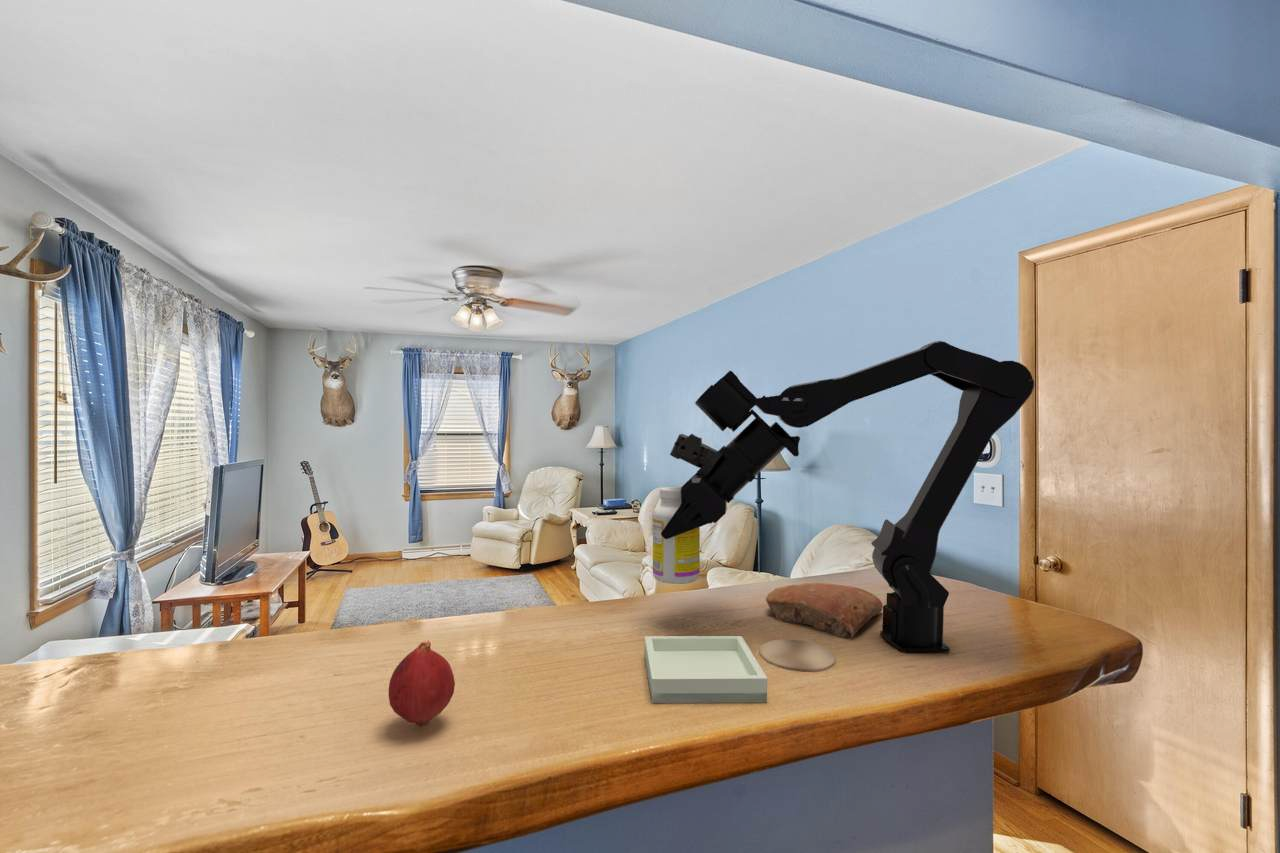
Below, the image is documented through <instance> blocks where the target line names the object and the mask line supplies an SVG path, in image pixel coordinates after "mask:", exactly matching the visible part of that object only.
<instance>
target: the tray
mask: <svg viewBox="0 0 1280 853" xmlns="http://www.w3.org/2000/svg"><path fill="white" fill-rule="evenodd" d="M643 652H644V656H645V657H644V663H646V664H645V668H646V675H647V676H646V677H647V681H648V687H649V694H650V702H651V704H719V703H720V704H721V703H722V704H724V703H725V704H726V703H727V704H728V703H729V704H731V703H732V704H733V703H736V704H737V703H739V704H740V703H744V704H746V703H749V704H750V703H768V677H767V675H766V673H765V672H764V670H763V669H762V667H761V665H760V664H759V662H758V661H757V659H756V658H755V656H754V653H753V652H752V651H751V649H750V647H749V646H748V644H747V643H746V641H745V639H744V637H743V636H742V635H741V636H740V635H734V636H733V635H728V636H727V635H702V636H701V635H695V636H694V635H690V636H689V635H678V636H677V635H675V636H670V635H669V636H668V635H663V636H661V635H659V636H658V635H657V636H655V635H648V636H644V651H643Z"/></svg>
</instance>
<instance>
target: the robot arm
mask: <svg viewBox="0 0 1280 853" xmlns="http://www.w3.org/2000/svg"><path fill="white" fill-rule="evenodd" d="M929 375H930V376H933V377H935V378H937V379H939V380H941V381H942V382H944V383H946V384H947V385H949V386H951V387H953V388H954V389H957V390H959V391H962V392H961V396H960V399H959V406H958V412H957V420H956V423H955V425H954V427H953V428H952V430H951V432H950V434H949V435H948V436H947V440H946V441H945V443H944V445H943V447H942V448H941V450H940V452H939V454H938V456H937V457H936V460H935V461H934V463H933V465H932V467H931V469H930V470H929V472H928V474H927V476H926V477H925V479H924V481H923V483H922V485H921V487H920V489H919V490H918V491H917V492H918V493H917V494H916V495H915V498H914V499H913V501H912V503H911V504H910V507H909V509H908V510H907V512H906V513H905V514H904V516H902V517H901V518H900V519H899V520H897V522H895V524H894V523H893V522H891V521H890V520H889V519H884V522H883V524H882V526H881V529H880V532H879V535H877V537H876V538H875V539H874V540H873V541H871V545H872V547H874V548H873V551H872V557H871V559H872V562H873V565H874V568H875V569H876V571H877V572H878V573H879V574H880V576H881V577H882V578H883V579H884V580H885V582H886V583H887V584H888V587H889V588H891V590H893V592H887V593H886V600H885V601H886V604H884V605H883V607H882V624H881V626H882V629H881V630H879V635H880V636H881V637H883V638H884V639H885V640H886V641H887V642H889V643H890V644H891V645H892V646H894V647H895V648H896V649H898V650H899V651H900V652H904V653H905V652H906V653H909V652H910V653H913V652H914V653H917V652H919V653H923V652H924V653H930V652H931V653H933V652H936V653H937V652H942V653H945V652H946V653H948V652H950V651H951V648H950V646H948V645H947V644H946V643H944V619H945V618H944V616H945V615H944V614H945V612H944V610H945V605H946V602H947V600H948V597H949V595H950V592H949V591H948V590H947V589H946V587H944V586H943V585H942V584H941V582H939V581H938V580H937V579H936V578H935V577H934V576H933V574H931V572H932V568H933V566H934V562H935V559H936V556H937V549H938V540H939V534H940V531H941V529H942V526H943V525H944V523H945V521H946V519H947V517H948V515H949V514H950V513H951V510H952V508H954V506H955V504H956V501H957V500H958V498H959V497H960V495H961V493H962V491H963V489H964V487H965V486H966V483H967V482H968V480H969V479H970V476H971V475H972V473H973V471H974V470H975V467H976V466H977V465H978V462H979V460H980V459H981V456H982V455H983V453H984V451H985V449H986V448H987V446H988V444H989V442H990V441H991V439H992V437H993V436H994V434H995V433H996V432H997V431H999V429H1000V428H1002V427H1003V426H1005V424H1006V423H1008V421H1011V419H1012V418H1013V417H1014V416H1015V415H1016V414H1017V412H1019V410H1020V409H1021V408H1022V407H1023V406H1024V404H1025V403H1026V402H1027V401H1028V399H1029V398H1030V397H1031V396H1032V394H1033V391H1034V388H1035V380H1034V379H1033V375H1032V373H1031V371H1030V370H1029V369H1028V367H1027V366H1025V365H1023V364H1022V363H1021V362H1017V361H1014V360H1003V361H998V360H996V359H994V358H992V357H989V356H985V355H983V354H979V353H977V352H973V351H969V350H965V349H962V348H959V347H956V346H954V345H952V344H950V343H948V342H946V341H942V340H937V341H933V342H929V343H928V344H927V343H926V344H925V345H923V346H921V347H920V348H918V349H915V350H913V351H910V352H907V353H904V354H902V355H899V356H896V357H893V358H890V359H888V360H885V361H882V362H879V363H876V364H874V365H871V366H869V367H866V368H865V367H864V368H863V369H860V370H857V371H854V372H851V373H849V374H846V375H843V376H839V377H834V378H828V379H822V380H815V381H809V382H805V383H799V384H793V385H790V386H789V387H787V388H785V389H784V390H783V391H782V392H780V394H779V395H771V396H766V395H764V394H763V395H762V396H761V397H756V396H755V395H754V394H753V393H752V391H750V389H748V388H747V387H746V386H745V385H744V384H743V383H742V382H741V381H740V379H739V377H738V376H737V375H736V374H735V373H734V372H733V371H732V370H728V372H727V373H726V374H725V375H723V376H722V377H721V378H720V379H718V380H717V381H716V382H715V383H714V384H711V385H710V386H709V387H708V388H706V390H705V391H704V392H703V393H702V394H701V395H700V396H699V397H698V398H697V399H696V401H695V403H694V404H695V405H696V407H698V408H699V409H700V410H701V412H703V413H704V414H705V415H706V417H707V418H708V419H710V420H711V421H712V423H714V424H715V426H717V428H718V429H720V431H722V432H724V431H725V430H726V429H727V428H728V429H729V430H731V432H733V433H735V431H736V430H738V429H739V427H741V426H742V425H743V424H744V423H745V422H746V421H747V420H748V419H749V418H750V417H751V416H753V417H754V419H753V420H751V422H750V423H749V424H748V425H746V426H745V428H744V429H742V430H741V431H740V433H738V434H737V435H736V436H735V437H734V438H733V439H732V440H731V441H730V442H729V443H728V444H727V445H722V447H720V449H719V450H717V449H715V448H713V447H711V446H709V445H707V444H705V443H703V438H702V437H699V436H697V435H695V434H694V433H691V434H689V435H686V434H684V433H679V434H678V436H677V438H676V439H675V440H676V441H675V442H674V444H673V447H672V449H671V451H670V453H669V455H670V456H671V457H673V458H674V459H676V460H679V459H680V460H682V461H684V462H686V463H688V464H691V465H693V466H695V467H696V468H698V469H697V471H696V473H695V474H693V475H692V476H691V477H690V478H689V480H687V481H686V482H685V483H684V484H683V485H682V486H680V487H681V491H680V492H681V505H680V507H679V508H678V509H677V511H676V512H675V514H674V515H673V517H672V518H671V519H670V521H669V522H668V524H667V525H666V527H665V528H664V529H663V531H662V532H661V535H662V536H663V537H664V539H669V538H671V537H674V536H677V535H679V534H682V533H684V532H687V531H690V530H693V529H695V528H698V527H700V528H701V527H703V526H707V525H709V524H713V523H714V524H716V523H717V522H718V521H719V520H720V519H721V518H722V517H723V516H725V515H726V513H727V510H728V508H727V507H728V504H729V503H730V502H732V500H734V499H735V496H736V495H737V494H739V492H741V490H742V489H744V488H745V486H747V484H749V483H751V482H753V480H755V479H756V476H757V475H758V474H759V473H760V472H762V470H764V468H766V467H767V466H768V465H769V464H770V463H772V461H773V460H774V459H775V458H776V457H777V456H778V455H779V454H780V453H782V452H783V451H784V449H786V450H787V451H788V452H789V453H791V455H793V457H796V458H797V457H798V456H799V455H800V452H799V443H800V440H801V437H800V436H798V435H793V436H792V435H790V434H789V433H788V432H787V431H786V430H785V429H784V428H783V426H781V425H780V424H779V423H778V422H777V421H775V422H774V423H772V424H771V425H769V424H768V423H767V421H765V420H764V419H763V418H762V417H761V416H760V415H759V414H758V413H757V412H756V411H755V410H753V408H754V407H757V408H758V410H760V412H761V413H763V414H766V415H770V416H777V417H778V419H779V420H780V421H781V422H782V423H783V424H785V425H787V426H789V427H790V428H791V427H792V428H800V429H801V428H806V427H809V426H811V425H813V424H815V423H816V422H818V421H820V420H822V419H824V418H826V417H828V416H830V415H831V414H833V413H835V412H836V411H838V410H840V409H841V408H844V407H845V406H846V405H848V404H850V403H852V402H855V401H857V400H860V399H864V398H866V397H869V396H871V395H874V394H878V393H880V392H883V391H886V390H889V389H892V388H895V387H897V386H900V385H902V384H906V383H908V382H912V381H914V380H917V379H921V378H923V377H926V376H929Z"/></svg>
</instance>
